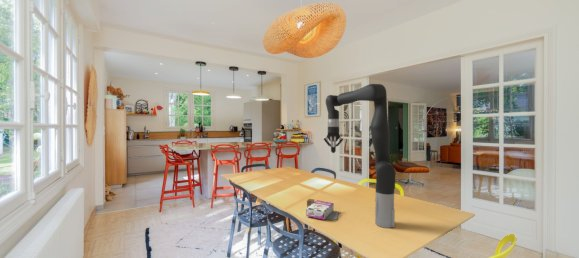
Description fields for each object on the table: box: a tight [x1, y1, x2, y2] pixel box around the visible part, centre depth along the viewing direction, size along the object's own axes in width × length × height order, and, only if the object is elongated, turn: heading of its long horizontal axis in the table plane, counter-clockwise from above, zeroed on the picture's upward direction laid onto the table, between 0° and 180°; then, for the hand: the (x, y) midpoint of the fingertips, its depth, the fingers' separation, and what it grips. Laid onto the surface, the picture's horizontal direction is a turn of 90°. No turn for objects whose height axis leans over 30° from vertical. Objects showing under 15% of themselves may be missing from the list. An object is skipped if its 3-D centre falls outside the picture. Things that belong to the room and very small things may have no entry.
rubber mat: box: [307, 210, 340, 221], centre depth 140 cm, size 16×12×1 cm
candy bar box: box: [305, 200, 335, 220], centre depth 140 cm, size 11×5×16 cm
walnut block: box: [306, 198, 315, 208], centre depth 156 cm, size 4×4×4 cm
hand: (333, 152), depth 155 cm, fingers closed
